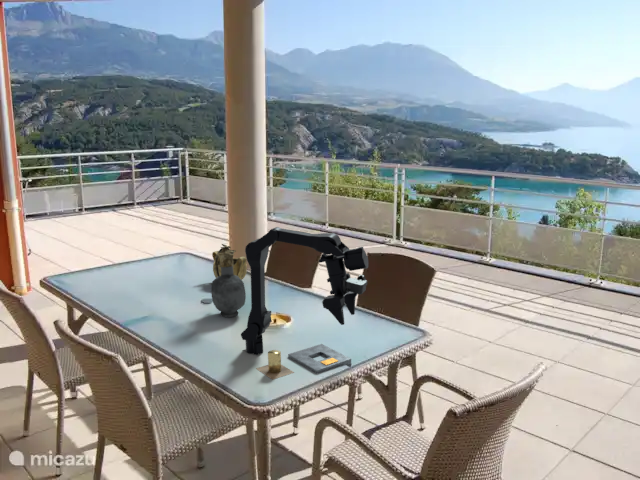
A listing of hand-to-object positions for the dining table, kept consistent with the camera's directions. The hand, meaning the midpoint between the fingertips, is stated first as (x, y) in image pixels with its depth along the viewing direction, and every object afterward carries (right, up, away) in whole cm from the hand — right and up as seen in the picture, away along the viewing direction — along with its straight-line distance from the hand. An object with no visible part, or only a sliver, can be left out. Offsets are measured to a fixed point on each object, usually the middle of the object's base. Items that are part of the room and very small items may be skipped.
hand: (347, 319), depth 175 cm
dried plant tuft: (-54, +4, +99) cm, 113 cm away
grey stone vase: (-48, -5, +53) cm, 72 cm away
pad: (-23, -16, -3) cm, 29 cm away
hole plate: (-9, -15, +4) cm, 18 cm away
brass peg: (-23, -16, -4) cm, 28 cm away
